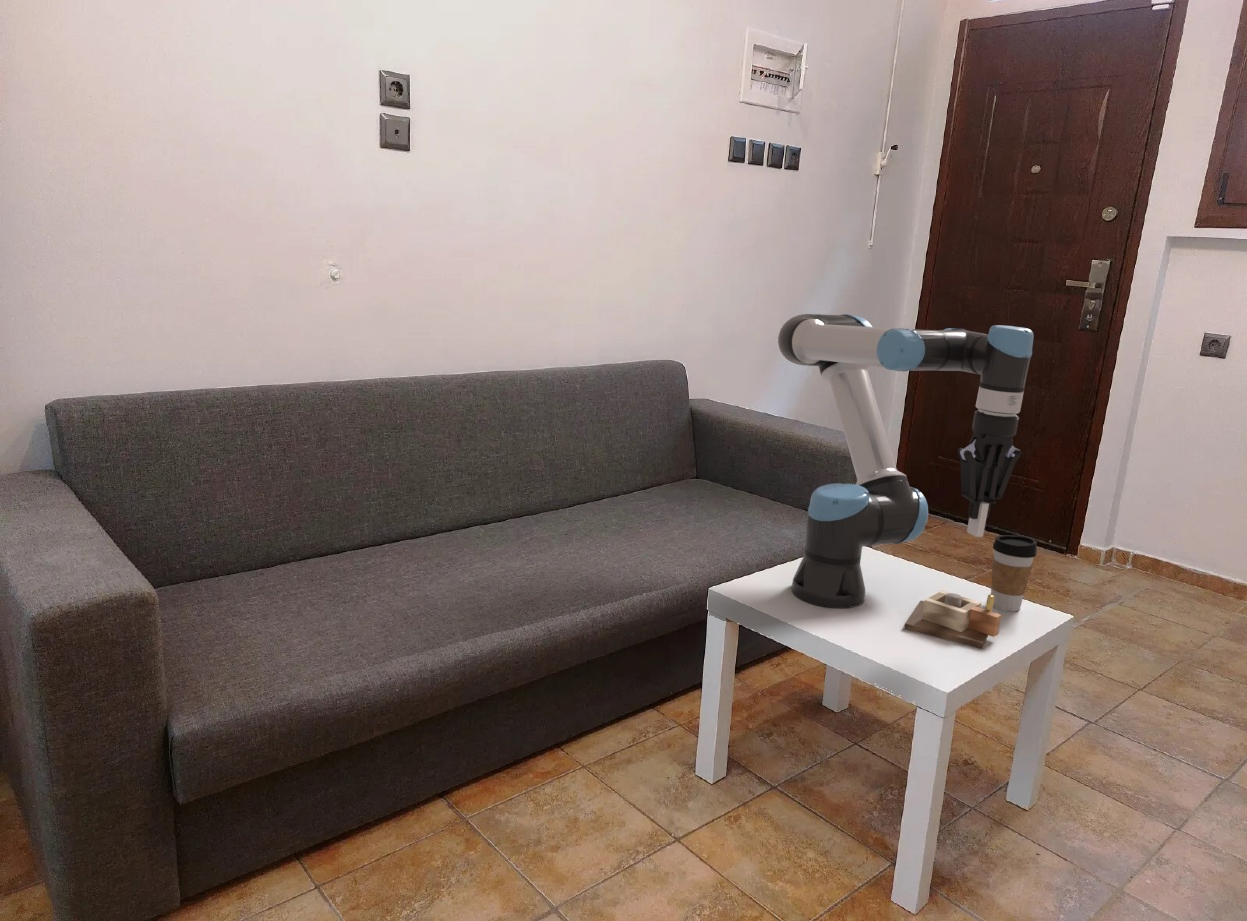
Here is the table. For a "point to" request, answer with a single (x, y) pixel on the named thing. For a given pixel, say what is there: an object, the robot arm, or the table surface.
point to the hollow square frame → (961, 615)
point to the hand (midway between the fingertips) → (974, 534)
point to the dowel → (990, 602)
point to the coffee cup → (1011, 570)
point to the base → (936, 630)
